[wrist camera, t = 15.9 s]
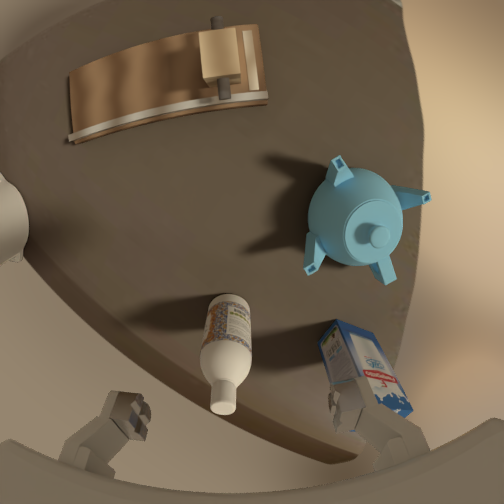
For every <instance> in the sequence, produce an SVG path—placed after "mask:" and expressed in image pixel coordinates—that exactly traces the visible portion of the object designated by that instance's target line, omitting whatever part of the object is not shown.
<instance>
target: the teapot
mask: <svg viewBox="0 0 504 504" xmlns="http://www.w3.org/2000/svg"><path fill="white" fill-rule="evenodd" d="M325 178H326V180H325V181H323V182H322V184H321V185H320V186H319V187H318V189H317V190H316V191H315V193H314V195H313V197H312V200H311V202H310V206H309V211H308V225H309V230H310V232H308V233H307V234H306V245H305V256H304V266H303V268H304V270H305V271H306V273H307V274H308V276H309V275H310V274H312V273H314V272H315V271H317V270H319V269H318V268H319V266H320V265H321V263H322V261H323V259H324V257H325V255H327V256H329V257H330V258H332V259H333V260H335V261H337V262H339V263H342V264H346V265H351V266H363V265H369V266H370V268H371V270H372V272H373V274H374V277H375V278H376V279H377V280H378V281H380V282H381V283H383V284H384V285H387V284H389V283H390V282H392V281H394V280H396V276H395V272H394V269H393V266H392V263H391V260H390V256H389V254H390V253H391V252H392V251H393V250H394V249H395V247H396V246H397V244H398V242H399V240H400V237H401V234H402V228H403V216H402V210H404V209H408V208H411V207H414V206H418V205H421V204H426V203H427V202H429V201H431V195H430V192H428V191H423V190H418V189H412V188H407V187H401V186H395V185H392V186H390V185H389V184H388V183H387V182H386V181H385V180H384V179H383V178H382V177H380V176H379V175H378V174H376V173H374V172H372V171H369V170H366V169H362V168H348V167H347V165H346V164H345V162H344V161H343V159H342V158H341V156H340V155H339V156H337V157H336V158H334V159H332V160H331V161H330V165H329V168H328V171H327V174H326V177H325Z"/></svg>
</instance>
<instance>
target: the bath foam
mask: <svg viewBox="0 0 504 504" xmlns="http://www.w3.org/2000/svg"><path fill="white" fill-rule="evenodd" d="M251 360H252V347H251V320H250V309H249V306H248V304H247V302H246V301H245V300H244V299H243V298H241V297H239V296H237V295H233V294H223V295H220V296H218V297H216V298H214V299H213V300H212V302H211V303H210V305H209V308H208V313H207V318H206V324H205V329H204V335H203V341H202V346H201V352H200V365H201V369H202V372H203V374H204V376H205V378H206V379H207V380H208V382H209V383H210V384H211V386H212V391H211V403H210V409H211V410H212V411H213V412H214V413H216V414H220V415H228V414H231V413H233V412H234V411H235V409H236V388H237V387H238V386H239V385H240V384H241V383H242V382H243V381H244V379H245V378H246V376H247V375H248V373H249V370H250V367H251Z"/></svg>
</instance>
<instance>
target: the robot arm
mask: <svg viewBox="0 0 504 504" xmlns="http://www.w3.org/2000/svg"><path fill="white" fill-rule="evenodd" d="M28 234H29V220H28V214H27V210H26V206H25V203H24V201H23V198H22V196H21V195H20V193H19V191H18V190H17V189H16V188H15V187H14V186H13V185H12V184H10V183H9V182H7V181H6V180H5V178H4V177H3V175H2V174H1V173H0V266H1V265H3V264H4V263H5V262H7V261H12V262H20V261H22V259H23V249H24V246H25V244H26V242H27V239H28ZM330 390H331V393H329V398H328V402H329V409H330V413H331V414H332V415H333V416H334V418H333V425H334V428H335V432H336V433H342V432H347V431H351V430H355V431H356V432H357V433H358V434H359V435H360V436H361V437H362V438H364V439H365V440H366V441H367V442H368V443H369V444H371V445H372V446H373V447H374V448H375V449H376V450H378V451H379V452H380V455H379V456H378V458H377V459H376V460H375V462H374V463H373V467H374V471H375V472H373V473H369V474H366V475H362V476H358V477H355V478H351V479H347V480H343V481H338V482H334V483H329V484H324V485H318V486H313V487H306V488H300V489H292V490H283V491H273V492H259V493H205V492H191V491H180V490H171V489H164V488H157V487H151V486H145V485H140V484H135V483H130V482H126V481H121V480H117V479H114V475H115V471H114V469H113V468H111V467H110V466H109V465H108V464H107V463H108V462H109V461H110V460H111V459H112V458H113V457H114V456H115V455H116V454H117V453H118V452H119V451H120V450H121V449H122V447H123V446H124V445H125V444H126V443H127V442H128V441H129V439H131V440H140V441H145V440H146V435H147V431H148V429H147V427H146V425H147V424H148V423H149V422H150V419H151V410H150V407H149V405H148V404H147V403H146V402H144V401H143V400H144V397H143V396H142V394H139V393H129V392H121V391H110V392H109V394H108V396H107V399H106V401H105V404H104V406H103V408H102V411H101V414H100V416H99V417H95V418H94V419H93V420H92V421H90V422H89V423H88V424H86V425H85V426H84V427H83V428H81V429H80V430H79V431H77V432H76V433H75V434H73V435H72V436H71V437H69V438H68V439H67V440H66V441H65V443H64V446H63V448H62V451H61V454H60V456H59V459H58V460H55V459H53V458H51V457H48V456H46V455H44V454H41V453H39V452H37V451H35V450H33V449H31V448H29V447H27V446H24V445H23V444H21V443H19V442H17V441H15V440H12V439H8V440H6V441H4V442H2V443H1V444H0V504H504V420H501V419H497V418H490V419H488V420H486V421H485V422H483V423H482V424H480V425H478V426H477V427H475V428H473V429H472V430H470V431H469V432H467V433H465V434H463V435H461V436H460V437H457V438H456V439H454V440H452V441H450V442H448V443H446V444H444V445H442V446H440V447H437V448H436V449H433V450H431V451H430V448H429V446H428V444H427V442H426V439H425V437H424V435H423V432H422V430H421V428H420V427H418V426H416V425H415V424H413V423H412V422H410V421H408V420H407V419H405V418H404V417H402V416H400V415H399V414H397V413H396V412H394V411H393V410H391V409H389V408H388V407H386V406H385V405H383V404H382V403H381V404H378V402H377V399H376V397H375V395H374V392H373V390H372V388H371V385H370V383H369V381H368V378H367V377H366V376H361V377H357V378H351V379H347V380H342V381H337V382H332V383H331V385H330Z"/></svg>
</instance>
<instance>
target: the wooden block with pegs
mask: <svg viewBox="0 0 504 504" xmlns="http://www.w3.org/2000/svg"><path fill="white" fill-rule="evenodd" d="M211 29H212V30H211V31H204V32H199V42H200V53H201V63H202V73H203V79H204V80H205V82H206V83H207V85H208V86H209V87H210V88H211V87H218V96H219V100H227V99H231V90H230V85H234V84H241V72H240V64H239V55H238V46H237V38H236V30H235V27H234V28H226V29H224V26H223V18H222V17H221V16H215V17H212V18H211Z"/></svg>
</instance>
